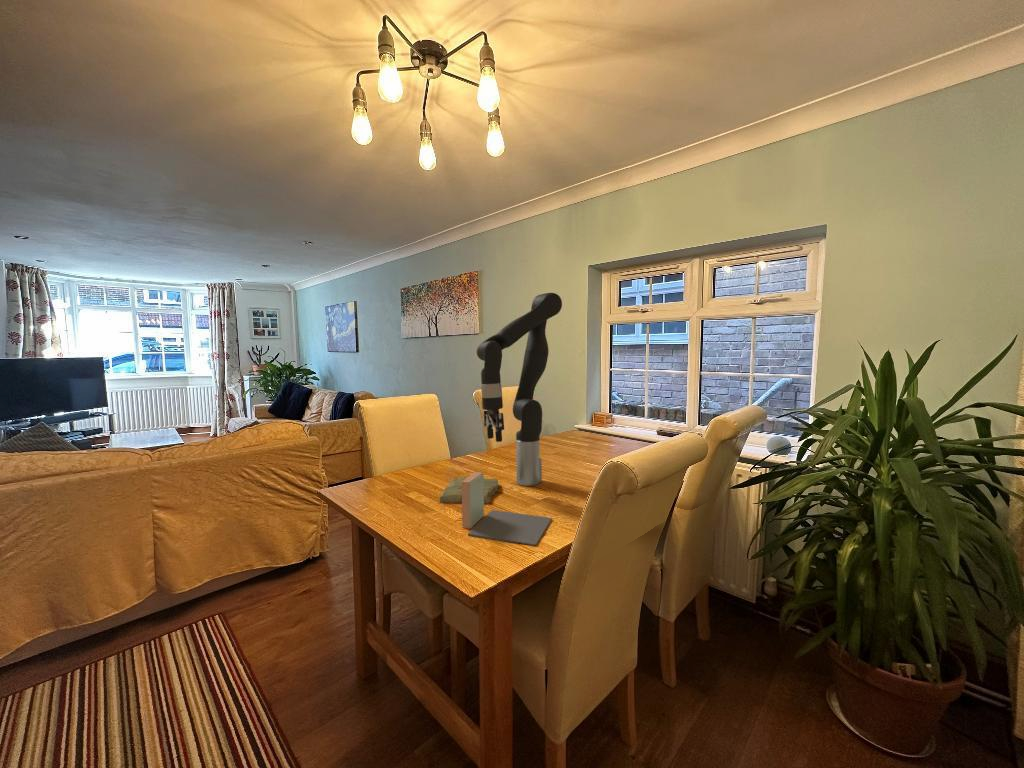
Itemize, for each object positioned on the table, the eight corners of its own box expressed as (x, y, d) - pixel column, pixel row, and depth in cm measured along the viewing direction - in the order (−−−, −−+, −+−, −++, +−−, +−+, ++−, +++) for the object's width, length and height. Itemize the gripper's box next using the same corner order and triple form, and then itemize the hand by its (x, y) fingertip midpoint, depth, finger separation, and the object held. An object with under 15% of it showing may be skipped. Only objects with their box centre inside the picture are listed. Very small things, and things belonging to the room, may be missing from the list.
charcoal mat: (467, 535, 114) (467, 533, 114) (491, 511, 131) (491, 509, 131) (535, 546, 108) (535, 544, 108) (551, 519, 124) (551, 517, 124)
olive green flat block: (439, 503, 139) (439, 493, 139) (453, 484, 159) (453, 475, 159) (492, 505, 137) (492, 495, 137) (500, 485, 157) (500, 476, 157)
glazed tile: (462, 527, 119) (461, 481, 118) (476, 514, 129) (475, 471, 127) (470, 529, 118) (470, 482, 117) (484, 515, 128) (483, 472, 127)
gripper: (509, 396, 142) (511, 441, 143) (494, 394, 155) (497, 436, 156) (489, 397, 139) (492, 444, 140) (476, 396, 152) (478, 438, 153)
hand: (494, 439), depth 148 cm, fingers open, 8 cm apart
